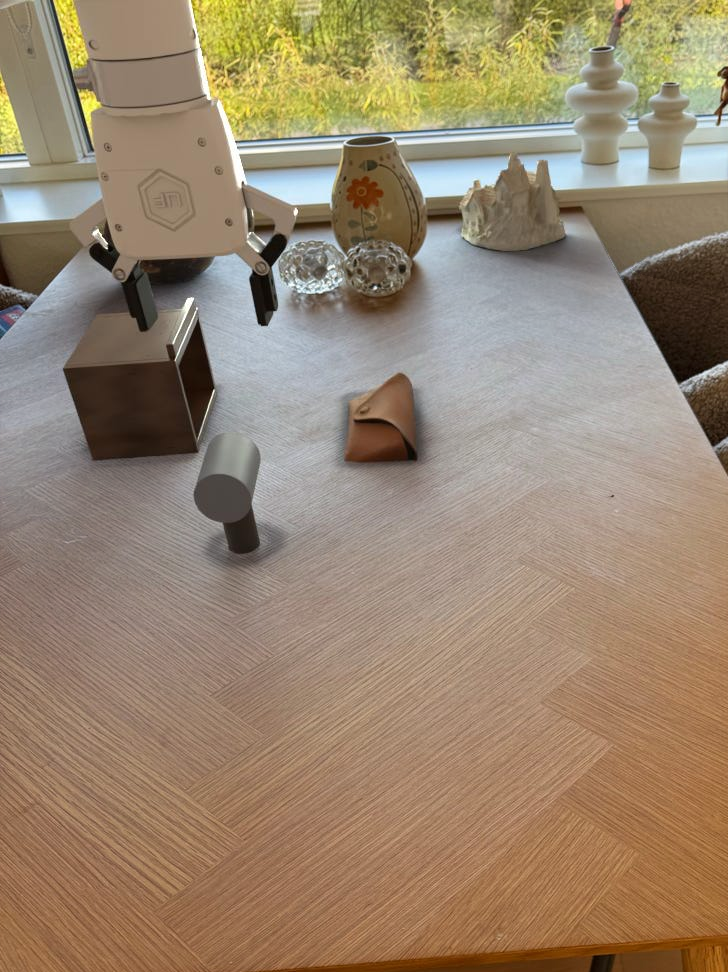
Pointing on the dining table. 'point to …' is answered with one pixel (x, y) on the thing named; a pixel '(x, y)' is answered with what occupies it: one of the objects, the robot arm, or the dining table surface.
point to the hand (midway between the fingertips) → (207, 322)
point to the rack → (142, 384)
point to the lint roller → (230, 488)
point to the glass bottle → (169, 266)
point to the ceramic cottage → (513, 209)
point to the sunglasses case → (383, 424)
